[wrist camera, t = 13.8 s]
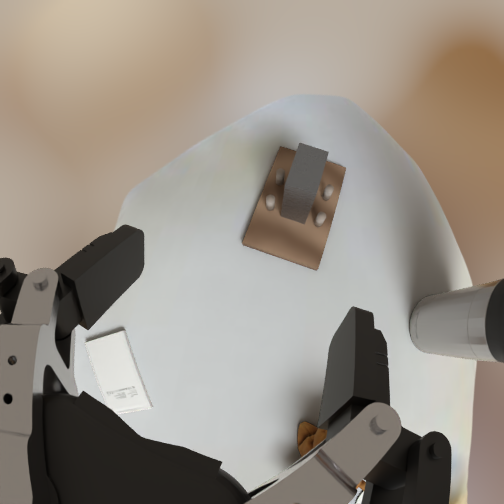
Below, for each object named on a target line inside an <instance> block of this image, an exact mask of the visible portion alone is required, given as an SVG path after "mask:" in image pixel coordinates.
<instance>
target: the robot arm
mask: <svg viewBox="0 0 504 504" xmlns="http://www.w3.org/2000/svg"><path fill="white" fill-rule="evenodd" d="M143 268H144V233H143V231H142V230H140V229H137V228H134V227H132V226H129V225H123V226H121V227H120V228H118V229H117V230H115V231H114V232H113V233H112V232H111V233H108V234H105V235H102V236H100V237H98V238H97V239H95V240H94V241H93V242H91V243H90V245H87V246H86V247H84V248H83V249H82V251H81V250H80V251H79V252H77V253H76V254H75V255H74V256H72V257H71V258H70V259H68V260H67V261H66V262H65V263H63V264H62V265H61V266H60V267H58V268H57V269H55V270H52V269H50V268H40V269H37V270H34V271H32V272H31V273H30V274H28V275H27V274H24V273H20V272H17V271H16V268H15V265H14V262H13V261H12V260H11V259H10V258H0V310H1V314H0V504H348V503H349V502H350V501H351V500H352V499H353V498H354V496H355V495H356V493H357V489H356V487H357V485H358V484H359V483H360V482H361V481H362V480H363V479H364V480H366V484H365V489H364V494H363V498H362V502H361V504H449V496H450V483H451V446H450V443H449V441H448V439H447V438H446V437H445V436H444V435H443V434H442V433H440V432H436V431H433V432H429V433H428V434H426V435H424V436H423V437H421V436H419V435H417V434H415V433H413V432H411V431H409V430H407V429H405V428H403V427H402V426H401V421H400V418H399V416H398V414H397V412H396V411H395V410H394V409H393V408H392V407H390V389H389V368H388V357H387V355H388V354H387V343H386V341H385V339H384V336H383V334H382V332H381V330H377V329H374V317H373V313H372V312H369V311H366V310H363V309H360V308H357V307H354V306H353V307H352V308H351V309H350V310H349V312H348V313H347V315H346V317H345V318H344V320H343V322H342V323H341V325H340V326H339V328H338V330H337V331H336V333H335V334H334V336H333V338H332V341H331V344H330V347H329V353H328V361H327V369H326V376H325V384H324V390H323V397H322V403H321V409H320V415H319V421H318V426H317V428H319V429H324V430H327V436H326V439H325V440H323V441H322V442H321V443H320V444H318V445H317V446H316V447H315V448H313V449H312V450H311V451H309V452H308V453H307V454H306V455H304V456H303V457H302V458H300V459H299V460H298V461H296V462H295V463H294V464H292V465H291V466H289V467H288V468H287V469H285V470H284V471H282V472H281V473H279V474H278V475H276V476H274V477H273V478H271V479H269V480H268V481H266V482H264V483H263V484H261V485H260V486H258V487H256V488H255V489H253V490H251V491H250V492H248V493H247V492H246V490H245V489H244V488H243V487H242V485H241V484H240V483H239V482H238V481H237V480H236V479H235V478H233V477H232V476H231V475H230V474H228V473H227V472H225V471H224V470H222V469H221V468H220V466H221V464H222V462H221V461H218V460H215V459H213V458H210V457H207V456H205V455H202V454H199V453H197V452H194V451H192V450H190V449H187V448H185V447H181V446H176V445H171V444H167V443H162V442H158V441H154V440H150V439H146V438H143V437H141V436H140V435H138V434H137V433H136V432H135V431H134V430H133V429H132V428H130V427H129V426H128V425H127V424H126V423H125V422H124V421H123V420H122V419H121V418H120V417H119V416H118V415H117V414H116V413H115V412H114V411H113V410H112V409H110V408H109V407H107V406H105V405H104V404H102V403H101V402H99V401H98V400H96V399H95V398H93V397H92V396H90V395H89V394H87V393H86V392H84V391H82V393H81V394H80V395H79V396H78V390H77V385H76V382H75V378H74V351H75V329H74V328H75V327H76V326H77V325H78V324H79V325H81V326H82V327H84V328H85V329H87V330H89V329H90V328H91V327H92V326H93V325H94V324H95V323H96V321H97V320H98V319H99V318H100V317H101V316H102V315H103V314H104V313H105V312H106V311H107V310H108V309H109V308H110V307H111V306H112V304H113V303H114V302H115V301H116V300H117V299H118V298H119V297H120V296H121V295H122V294H123V293H124V292H125V291H126V290H127V289H128V288H129V287H130V286H131V285H132V284H133V283H134V282H135V281H136V280H137V279H138V278H139V277H140V275H141V273H142V271H143ZM410 334H411V338H412V341H413V343H414V344H415V346H416V347H417V348H418V349H419V350H420V351H422V352H425V353H430V354H436V355H442V356H449V357H457V358H464V359H472V360H481V361H492V362H503V363H504V279H500V280H497V281H493V282H489V283H485V284H481V285H477V286H473V287H468V288H464V289H459V290H455V291H450V292H446V293H440V294H435V295H431V296H427V297H425V298H423V299H422V300H421V301H420V302H419V303H418V304H417V305H416V307H415V308H414V310H413V312H412V316H411V319H410Z"/></svg>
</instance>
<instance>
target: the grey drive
mask: <svg viewBox="0 0 504 504" xmlns="http://www.w3.org/2000/svg"><path fill="white" fill-rule="evenodd" d="M327 156H328V152H327V151H324V150H321V149H318V148H315V147H311V146H308V145H305V144H302V143H299V146H298V149H297V152H296V154H295V157H294V160H293V163H292V166H291V169H290V172H289V174H288V177H287V180H286V183H285V188H284V195H283V202H282V210H281V217H284V218H287V219H290V220H293V221H296V222H299V223H302V224H305V222H306V220H307V217H308V215H309V212H310V210H311V207H312V205H313V202H314V200H315V197H316V195H317V191H318V188H319V184H320V181H321V178H322V174H323V171H324V167H325V163H326V160H327Z"/></svg>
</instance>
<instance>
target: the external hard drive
mask: <svg viewBox="0 0 504 504" xmlns="http://www.w3.org/2000/svg"><path fill="white" fill-rule="evenodd" d="M85 346H86V350H87V353H88V356H89V359H90V362H91V365H92V368H93V371H94V374H95V377H96V380H97V383H98V386H99V388H100V391H101V394H102V396H103V399H104V401H105V403H106V406H107V407H109V408H110V409H112V410H113V411H114V412H115V413H116V414H123V413H129V412H135V411H140V410H146V409H150V408H152V407H153V405H152V402H151V400H150V397H149V395H148V393H147V390H146V387H145V385H144V382H143V380H142V377H141V374H140V372H139V369H138V366H137V363H136V360H135V358H134V355H133V352H132V349H131V346H130V343H129V339H128V336H127V333H126V330H123V331H120V332H117V333H113V334H110V335H107V336H104V337H101V338H98V339H95V340H91V341H88V342H85Z"/></svg>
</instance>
